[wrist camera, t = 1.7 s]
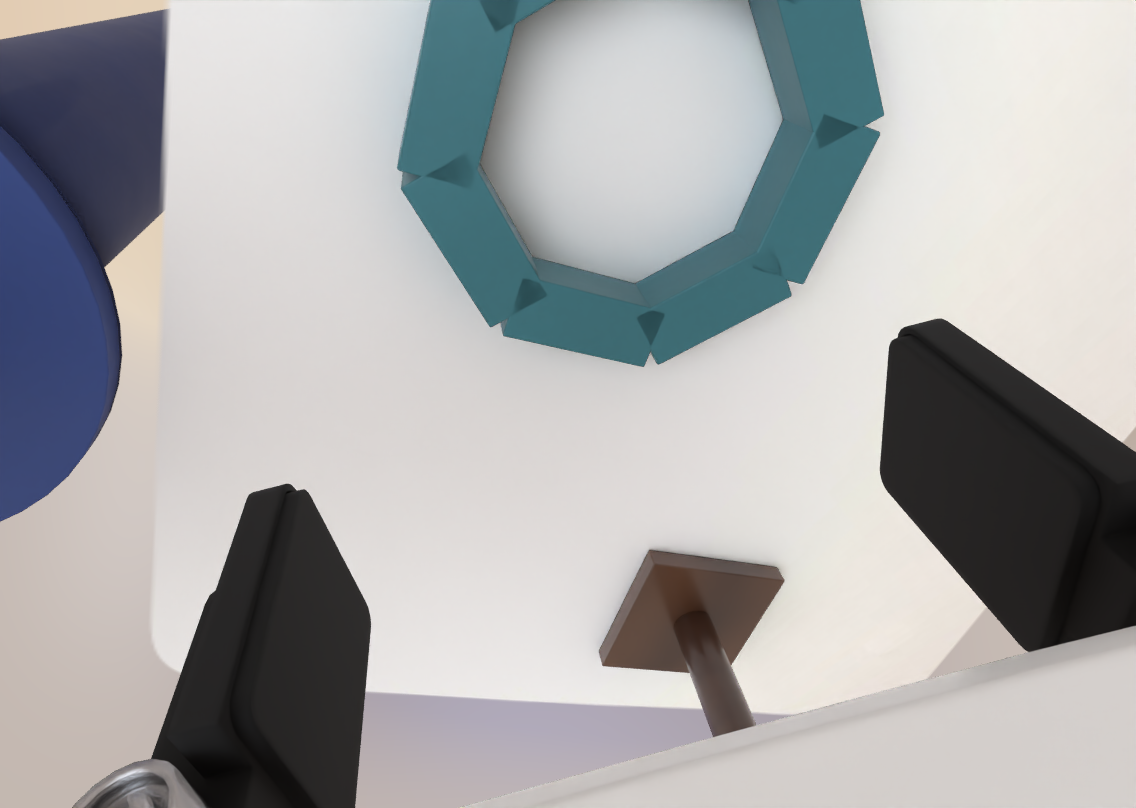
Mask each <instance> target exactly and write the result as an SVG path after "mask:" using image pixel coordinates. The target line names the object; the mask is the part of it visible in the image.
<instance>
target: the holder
mask: <svg viewBox="0 0 1136 808" xmlns="http://www.w3.org/2000/svg"><path fill="white" fill-rule="evenodd" d="M783 583H784V579H783V577H782V575H781V573H780V572H779V570H778V568H776V567H770V566H762V565H755V564H748V563H740V562H733V561H725V560H718V559H711V558H703V557H696V556H689V555H681V554H674V553H666V552H659V551H652V550H649V552H648V554H647V556H646V558H645V560H644V562H643V564H642V566H641V568H640V570H639V572H638V574H637V576H636V578H635V580H634V582H633V584H632V586H631V588H630V590H629V592H628V594H627V596H626V598H625V600H624V602H623V604H622V606H621V608H620V610H619V612H618V614H617V616H616V618H615V620H614V622H613V624H612V626H611V628H610V630H609V632H608V634H607V636H606V638H605V640H604V642H603V644H602V646H601V648H600V650H599V654H600V658H601V662H602V666H608V667H621V668H633V669H646V670H659V671H672V672H685V673H690V675H691V678H692V681H693V683H694V686H695V689H696V691H697V694H698V697H699V700H700V702H701V705H702V708H703V710H704V713H705V716H706V719H707V721H708V724H709V726H710V729H711V732H712V735H713V737H716V736H720V735H723V734H727V733H731V732H734V731H738V730H742V729H745V728H749V727H753V726H756V723H755V721H754V718H753V716H752V714H751V711H750V709H749V707H748V704H747V702H746V700H745V697H744V695H743V693H742V690H741V688H740V686H739V683H738V681H737V679H736V676H735V674H734V672H733V669H732V667H731V665H732V663H733V662H734V660H735V658H736V657H737V655H738V654H739V652H740V651H741V649H742V647H743V646H744V644H745V643H746V641H747V640H748V638H749V636H750V635H751V633H752V632H753V630H754V628H755V627H756V625H757V624H758V622H759V621H760V619H761V617H762V616H763V614H764V613H765V611H766V610H767V608H768V606H769V605H770V603H771V602H772V600H773V599H774V597H775V595H776V594H777V592H778V591H779V589H780V588H781V586H782V584H783Z"/></svg>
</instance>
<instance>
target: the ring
mask: <svg viewBox="0 0 1136 808" xmlns="http://www.w3.org/2000/svg"><path fill="white" fill-rule="evenodd" d="M554 1H555V0H430V5H429V10H428V14H427V19H426V24H425V29H424V34H423V39H422V44H421V49H420V54H419V59H418V64H417V69H416V73H415V78H414V83H413V88H412V93H411V98H410V103H409V108H408V113H407V118H406V123H405V128H404V133H403V137H402V142H401V147H400V153H399V159H398V166H397V169H398V170H399V171H402V172H403V175H402V184H401V190H402V191H403V193H404V194H405V196H406V197H407V199H408V201H409V202H410V204H411V205H412V207H413V208H414V210H415V211H416V213H417V215H418V216H419V218H420V219H421V221H422V222H423V224H424V225H425V227H426V229H427V230H428V232H429V233H430V235H431V236H432V238H433V239H434V241H435V243H436V244H437V246H438V247H439V249H440V250H441V252H442V253H443V255H444V257H445V258H446V260H447V261H448V263H449V264H450V266H451V267H452V269H453V270H454V272H455V274H456V275H457V277H458V278H459V280H460V281H461V283H462V284H463V286H464V288H465V289H466V291H467V292H468V294H469V295H470V297H471V298H472V300H473V302H474V303H475V305H476V306H477V308H478V309H479V311H480V312H481V314H482V316H483V317H484V319H485V320H486V322H487V323H488V325H489V326H490V327H493V326H494V325H496V324H498V323H500V322H501V327H502V332H503V336H506V337H511V338H515V339H520V340H524V341H529V342H533V343H538V344H542V345H547V346H551V347H556V348H560V349H565V350H569V351H574V352H578V353H583V354H587V355H592V356H596V357H601V358H605V359H610V360H614V361H619V362H623V363H628V364H632V365H637V366H641V367H644V365H645V363H646V361H647V358H648V356H649V354H650V352H651V354H652V356H653V358H654V359H655V361H656V363H657V364H661V363H663V362H665V361H667V360H669V359H671V358H673V357H674V356H676V355H678V354H680V353H682V352H684V351H686V350H688V349H690V348H692V347H694V346H696V345H698V344H700V343H702V342H704V341H705V340H707V339H709V338H711V337H713V336H715V335H717V334H719V333H721V332H723V331H725V330H727V329H729V328H731V327H733V326H735V325H736V324H738V323H740V322H742V321H744V320H746V319H748V318H750V317H752V316H754V315H756V314H758V313H760V312H762V311H764V310H765V309H767V308H769V307H771V306H773V305H775V304H777V303H779V302H781V301H783V300H785V299H787V298H789V297H791V291H790V288H789V285H788V282H787V280H788V281H792V282H796V283H799V284H803V283H804V282H805V280H806V278H807V276H808V274H809V272H810V270H811V268H812V266H813V264H814V262H815V260H816V259H817V257H818V255H819V253H820V251H821V249H822V247H823V245H824V243H825V241H826V239H827V237H828V235H829V233H830V231H831V229H832V227H833V225H834V223H835V222H836V220H837V218H838V216H839V214H840V212H841V210H842V208H843V206H844V204H845V202H846V200H847V198H848V196H849V194H850V192H851V190H852V188H853V186H854V185H855V183H856V181H857V179H858V177H859V175H860V173H861V171H862V169H863V167H864V165H865V163H866V161H867V159H868V157H869V155H870V153H871V151H872V149H873V148H874V146H875V144H876V142H877V140H878V138H879V136H880V132H879V131H876V130H873V129H871V128H868V127H865V125H867V124H869V123H871V122H873V121H875V120H877V119H878V118H880V117H882V116H884V112H883V107H882V102H881V97H880V93H879V88H878V83H877V78H876V74H875V69H874V64H873V59H872V55H871V50H870V45H869V40H868V36H867V31H866V26H865V21H864V17H863V12H862V7H861V2H860V0H749V4H750V7H751V10H752V14H753V17H754V21H755V24H756V27H757V31H758V34H759V38H760V41H761V44H762V48H763V51H764V55H765V58H766V62H767V65H768V68H769V72H770V75H771V79H772V82H773V85H774V89H775V92H776V96H777V99H778V102H779V106H780V109H781V113H782V116H783V122H782V124H781V126H780V128H779V131H778V133H777V135H776V137H775V140H774V142H773V144H772V146H771V149H770V151H769V153H768V155H767V157H766V160H765V162H764V164H763V166H762V169H761V171H760V173H759V175H758V178H757V180H756V182H755V184H754V187H753V189H752V191H751V193H750V196H749V198H748V200H747V202H746V205H745V207H744V209H743V211H742V214H741V216H740V218H739V220H738V222H737V225H736V227H735V229H734V231H733V232H731V233H729V234H727V235H725V236H724V237H722V238H720V239H718V240H716V241H714V242H712V243H710V244H709V245H707V246H705V247H703V248H701V249H699V250H697V251H695V252H694V253H692V254H690V255H688V256H686V257H684V258H682V259H680V260H679V261H677V262H675V263H673V264H671V265H669V266H667V267H665V268H664V269H662V270H660V271H658V272H656V273H654V274H652V275H650V276H649V277H647V278H645V279H643V280H641V281H639V282H637V283H635V284H634V283H630V282H627V281H623V280H619V279H615V278H611V277H607V276H604V275H600V274H596V273H592V272H588V271H584V270H581V269H577V268H573V267H569V266H565V265H561V264H558V263H554V262H550V261H546V260H542V259H538V258H535V257H532V256H531V254H530V252H529V250H528V248H527V247H526V245H525V243H524V241H523V240H522V238H521V236H520V234H519V232H518V231H517V229H516V227H515V225H514V224H513V222H512V220H511V218H510V217H509V215H508V213H507V211H506V209H505V208H504V206H503V204H502V202H501V201H500V199H499V197H498V195H497V193H496V192H495V190H494V188H493V186H492V185H491V183H490V181H489V179H488V177H487V176H486V174H485V172H484V170H483V169H482V167H481V165H480V160H481V156H482V152H483V148H484V144H485V140H486V136H487V133H488V129H489V125H490V121H491V117H492V113H493V109H494V105H495V102H496V98H497V94H498V90H499V86H500V82H501V78H502V74H503V71H504V67H505V63H506V59H507V55H508V51H509V47H510V43H511V40H512V36H513V32H514V28H515V24H516V23H518V22H520V21H522V20H523V19H525V18H527V17H528V16H530V15H532V14H533V13H535V12H537V11H538V10H540V9H542V8H544V7H545V6H547V5H549V4H550V3H552V2H554Z"/></svg>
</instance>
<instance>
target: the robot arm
mask: <svg viewBox="0 0 1136 808" xmlns="http://www.w3.org/2000/svg"><path fill="white" fill-rule="evenodd" d="M880 475H881V479H882V482H883V484H884V486H885V488H886V490H887V491H888V493H889V494H890V495H891V496H892V497H893V498H894V500H895V501H896V502H897V503H898V504H899V505H900V507H901V508H902V509H903V510H904V511H905V512H906V513H907V515H908V516H909V517H910V518H911V519H912V520H913V522H914V523H915V524H916V525H917V526H918V527H919V529H920V530H921V531H922V532H923V533H924V534H925V536H926V537H927V538H928V539H929V540H930V541H931V542H932V544H933V545H934V546H935V547H936V548H937V549H938V551H939V552H940V553H941V554H942V555H943V556H944V558H945V559H946V560H947V561H948V562H949V563H950V564H951V566H952V567H953V568H954V569H955V570H956V571H957V573H958V574H959V575H960V576H961V577H962V578H963V580H964V581H965V582H966V583H967V584H968V585H969V587H970V588H971V589H972V590H973V591H974V592H975V593H976V595H977V596H978V597H979V598H980V599H981V600H982V602H983V603H984V604H985V605H986V606H987V607H988V609H989V610H990V611H991V612H992V613H993V614H994V615H995V617H997V619H998V620H999V621H1000V622H1001V624H1002V625H1003V626H1004V627H1005V628H1006V629H1007V631H1008V632H1009V633H1010V634H1011V635H1012V636H1013V638H1015V640H1016V641H1017V642H1018V643H1019V644H1020V645H1021V646H1022V647H1023V648H1024V649H1025V650H1026V651H1028V653H1024V654H1021V655H1017V656H1013V657H1009V658H1005V659H1002V660H998V661H994V662H990V663H987V664H983V665H979V666H976V667H972V668H968V669H965V670H961V671H957V672H953V673H950V674H946V675H942V676H938V677H935V678H931V679H927V680H923V681H919V682H916V683H912V684H908V685H904V686H901V687H897V688H893V689H889V690H886V691H882V692H878V693H874V694H871V695H867V696H863V697H859V698H856V699H852V700H848V701H845V702H841V703H837V704H834V705H830V706H826V707H823V708H819V709H815V710H811V711H808V712H804V713H800V714H797V715H793V716H789V717H786V718H782V719H778V720H775V721H772V722H768V723H764V724H760V725H756V726H753V727H749V728H745V729H742V730H738V731H734V732H731V733H727V734H723V735H720V736H716V737H713V738H709V739H705V740H701V741H698V742H694V743H691V744H687V745H683V746H680V747H676V748H672V749H669V750H665V751H661V752H658V753H654V754H650V755H647V756H643V757H639V758H636V759H632V760H629V761H625V762H622V763H618V764H614V765H611V766H607V767H603V768H600V769H597V770H593V771H589V772H586V773H582V774H578V775H575V776H571V777H568V778H564V779H560V780H557V781H553V782H550V783H546V784H542V785H539V786H536V787H532V788H528V789H524V790H521V791H517V792H514V793H510V794H506V795H503V796H500V797H496V798H493V799H489V800H485V801H482V802H478V803H474V804H471V805H467V806H464V807H460V808H1136V452H1135V451H1133V450H1131V449H1130V448H1128V447H1127V446H1126V445H1125V444H1123V443H1122V442H1120V441H1119V440H1117V439H1116V438H1114V437H1113V436H1112V435H1110V434H1109V433H1107V432H1106V431H1104V430H1103V429H1102V428H1100V427H1099V426H1097V425H1096V424H1094V423H1093V422H1091V421H1090V420H1089V419H1087V418H1086V417H1084V416H1083V415H1081V414H1080V413H1079V412H1077V411H1076V410H1074V409H1073V408H1071V407H1070V406H1068V405H1067V404H1066V403H1064V402H1063V401H1061V400H1060V399H1058V398H1057V397H1056V396H1054V395H1053V394H1051V393H1050V392H1048V391H1047V390H1046V389H1044V388H1043V387H1041V386H1040V385H1038V384H1037V383H1035V382H1034V381H1033V380H1031V379H1030V378H1028V377H1027V376H1025V375H1024V374H1023V373H1021V372H1020V371H1018V370H1017V369H1015V368H1014V367H1012V366H1011V365H1010V364H1008V363H1007V362H1005V361H1004V360H1002V359H1001V358H1000V357H998V356H997V355H995V354H994V353H992V352H991V351H989V350H988V349H987V348H985V347H984V346H982V345H981V344H979V343H978V342H977V341H975V340H974V339H972V338H971V337H969V336H968V335H966V334H965V333H964V332H962V331H961V330H959V329H958V328H956V327H955V326H954V325H952V324H951V323H949V322H948V321H946V320H944V319H934V320H930V321H926V322H922V323H918V324H915V325H911V326H907V327H904V328H903V329H901V330H900V332H899V334H898V338H896V339H894V340H892V341H891V343H890V346H889V355H888V368H887V381H886V394H885V408H884V421H883V434H882V448H881V461H880ZM370 632H371V619H370V613H369V609H368V606H367V604H366V602H365V600H364V598H363V596H362V594H361V592H360V590H359V588H358V586H357V584H356V582H355V580H354V579H353V577H352V575H351V573H350V571H349V569H348V567H347V565H346V563H345V561H344V559H343V557H342V556H341V554H340V552H339V550H338V548H337V546H336V544H335V542H334V540H333V538H332V536H331V534H330V533H329V531H328V529H327V527H326V525H325V523H324V521H323V519H322V517H321V515H320V513H319V511H318V510H317V508H316V506H315V504H314V502H313V500H312V498H311V496H310V495H309V493H308V492H307V491H306V490H299V491H296V489H295V488H294V487H293V486H292V485H291V484H284V485H280V486H276V487H272V488H268V489H264V490H260V491H256V492H253V493H251V494H249V496H248V498H247V500H246V503H245V506H244V509H243V512H242V515H241V518H240V521H239V524H238V527H237V530H236V532H235V535H234V538H233V541H232V544H231V547H230V550H229V553H228V556H227V559H226V562H225V565H224V568H223V571H222V574H221V577H220V580H219V582H218V585H217V588H216V591H214V592H213V593H212V594H211V595H210V596H209V598H208V600H207V602H206V604H205V606H204V609H203V612H202V615H201V618H200V620H199V623H198V626H197V629H196V632H195V635H194V638H193V641H192V643H191V646H190V649H189V652H188V655H187V658H186V661H185V663H184V666H183V669H182V672H181V675H180V678H179V681H178V684H177V686H176V689H175V692H174V695H173V698H172V701H171V703H170V706H169V709H168V713H167V715H166V718H165V721H164V724H163V727H162V729H161V732H160V735H159V738H158V741H157V744H156V746H155V749H154V752H153V755H152V758H151V759H150V760H144V761H139V762H134V763H132V764H129V765H127V766H125V767H123V768H121V769H118V770H116V771H114V772H113V773H111V774H110V775H108V776H107V777H106V778H104V779H103V780H101V781H100V782H99V783H97V784H95V785H94V786H93V787H92V788H91V789H90V790H89V791H88V792H87V793H86V794H85V795H84V796H82V797H81V799H79V800H78V801H77V802H76V803H75V805H74V806H73V807H72V808H355V801H356V788H357V777H358V767H359V756H360V745H361V733H362V722H363V711H364V699H365V688H366V677H367V666H368V654H369V643H370Z"/></svg>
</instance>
